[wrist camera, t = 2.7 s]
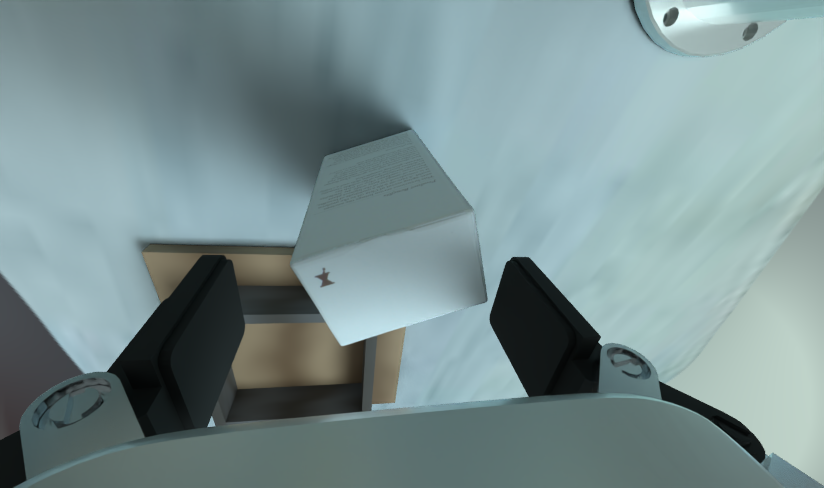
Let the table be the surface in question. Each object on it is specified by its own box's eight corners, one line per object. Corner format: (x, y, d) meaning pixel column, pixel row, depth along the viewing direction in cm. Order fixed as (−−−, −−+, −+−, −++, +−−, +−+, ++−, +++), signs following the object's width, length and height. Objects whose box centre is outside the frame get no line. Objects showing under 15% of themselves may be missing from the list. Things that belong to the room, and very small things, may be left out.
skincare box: (347, 213, 22) (335, 351, 12) (322, 154, 20) (281, 263, 9) (430, 188, 22) (492, 305, 12) (415, 126, 19) (475, 204, 9)
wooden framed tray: (413, 250, 24) (422, 282, 21) (393, 393, 33) (397, 432, 30) (150, 244, 21) (109, 280, 18) (208, 404, 30) (188, 449, 27)
